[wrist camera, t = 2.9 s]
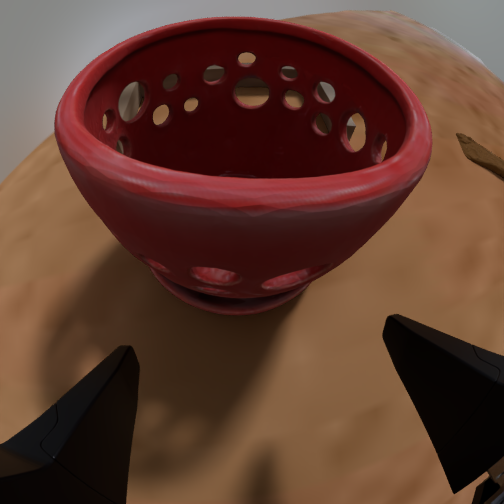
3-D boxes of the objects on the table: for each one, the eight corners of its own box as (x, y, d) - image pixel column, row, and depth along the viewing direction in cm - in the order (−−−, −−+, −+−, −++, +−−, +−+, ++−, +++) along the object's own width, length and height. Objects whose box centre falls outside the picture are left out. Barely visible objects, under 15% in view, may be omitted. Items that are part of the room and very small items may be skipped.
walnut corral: (346, 146, 22) (355, 126, 19) (112, 160, 20) (102, 140, 17) (315, 84, 26) (319, 67, 24) (134, 93, 24) (129, 76, 22)
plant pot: (340, 330, 15) (500, 248, 4) (124, 313, 15) (-22, 209, 4) (326, 163, 21) (376, 32, 10) (165, 151, 20) (137, 16, 9)
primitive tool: (463, 159, 24) (477, 141, 21) (452, 132, 27) (463, 116, 24) (531, 205, 24) (543, 194, 21) (521, 179, 26) (532, 168, 23)
